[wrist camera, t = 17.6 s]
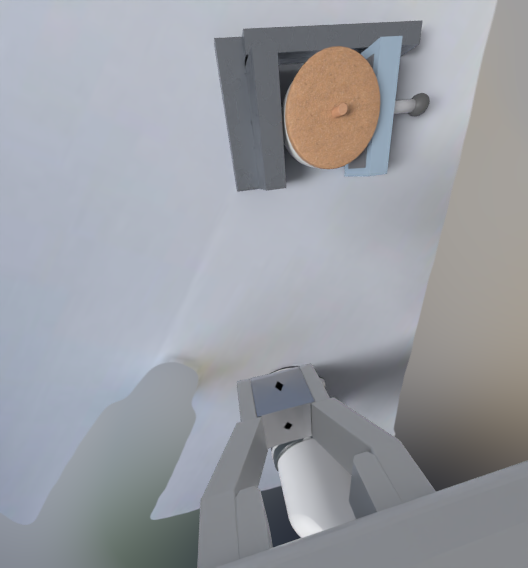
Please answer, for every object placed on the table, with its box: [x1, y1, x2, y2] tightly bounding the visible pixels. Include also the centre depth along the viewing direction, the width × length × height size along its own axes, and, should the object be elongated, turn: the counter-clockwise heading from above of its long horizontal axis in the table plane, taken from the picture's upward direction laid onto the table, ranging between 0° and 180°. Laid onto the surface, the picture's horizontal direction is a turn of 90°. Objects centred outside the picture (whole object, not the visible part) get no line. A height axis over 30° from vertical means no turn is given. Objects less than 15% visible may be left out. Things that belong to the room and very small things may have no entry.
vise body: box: [214, 21, 422, 191], centre depth 28 cm, size 16×24×6 cm, turn 97°
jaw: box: [345, 36, 429, 176], centre depth 30 cm, size 13×10×6 cm
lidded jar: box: [281, 46, 380, 169], centre depth 27 cm, size 11×11×9 cm
